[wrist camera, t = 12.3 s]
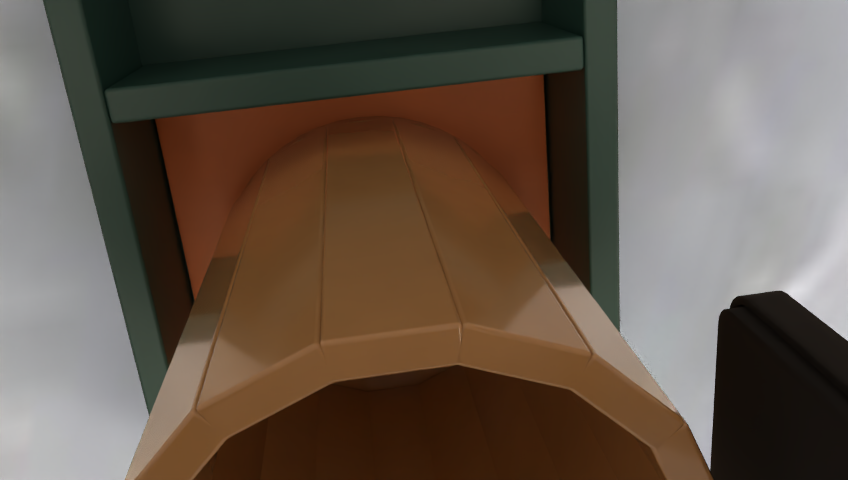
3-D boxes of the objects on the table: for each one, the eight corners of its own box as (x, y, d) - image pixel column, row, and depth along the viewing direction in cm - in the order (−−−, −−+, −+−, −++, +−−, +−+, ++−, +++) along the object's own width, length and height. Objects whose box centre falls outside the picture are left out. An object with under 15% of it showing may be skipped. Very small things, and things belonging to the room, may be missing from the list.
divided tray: (206, 446, 20) (181, 545, 16) (-3, -466, 13) (-113, -602, 10) (575, 393, 20) (621, 478, 17) (547, -502, 14) (613, -641, 11)
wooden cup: (196, 135, 16) (14, 383, 7) (515, 98, 17) (744, 285, 7) (252, 412, 19) (172, 873, 9) (530, 373, 19) (718, 776, 10)
